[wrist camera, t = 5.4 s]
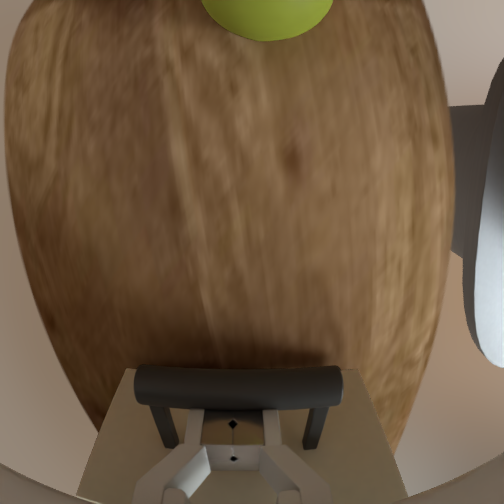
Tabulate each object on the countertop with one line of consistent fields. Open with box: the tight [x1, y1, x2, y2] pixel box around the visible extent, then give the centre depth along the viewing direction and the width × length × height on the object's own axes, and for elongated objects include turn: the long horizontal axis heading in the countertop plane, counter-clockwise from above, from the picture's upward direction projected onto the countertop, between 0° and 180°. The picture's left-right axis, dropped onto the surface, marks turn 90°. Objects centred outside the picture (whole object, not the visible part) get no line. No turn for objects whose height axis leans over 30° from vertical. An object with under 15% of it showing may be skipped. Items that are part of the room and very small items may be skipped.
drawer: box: [76, 365, 408, 504], centre depth 13 cm, size 18×13×9 cm
